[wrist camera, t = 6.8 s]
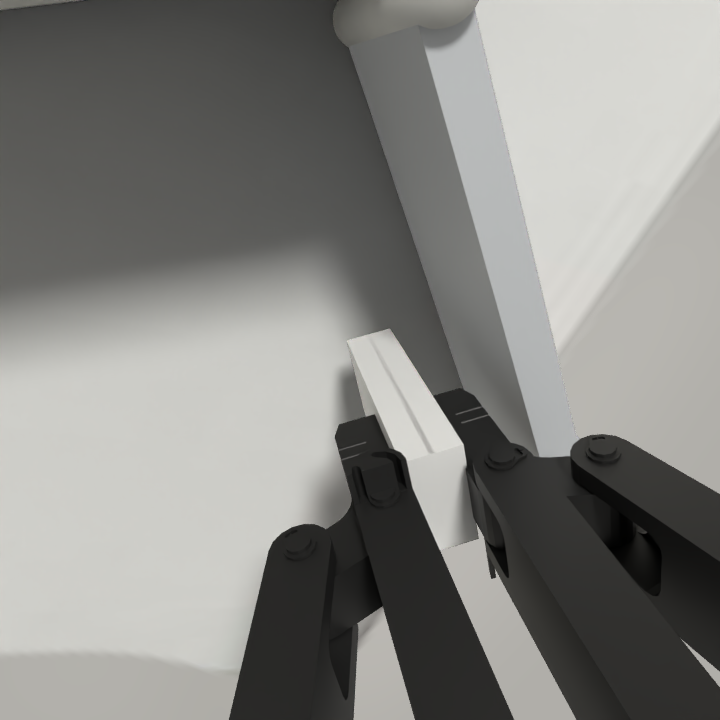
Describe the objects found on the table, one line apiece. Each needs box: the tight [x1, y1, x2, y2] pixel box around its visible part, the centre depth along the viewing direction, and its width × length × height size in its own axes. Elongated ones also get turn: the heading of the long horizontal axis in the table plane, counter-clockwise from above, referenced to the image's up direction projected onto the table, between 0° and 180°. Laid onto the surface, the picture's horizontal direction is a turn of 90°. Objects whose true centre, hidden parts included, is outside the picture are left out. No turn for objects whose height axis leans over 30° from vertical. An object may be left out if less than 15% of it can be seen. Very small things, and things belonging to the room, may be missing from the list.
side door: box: [333, 0, 580, 457], centre depth 16 cm, size 14×2×7 cm, turn 20°
